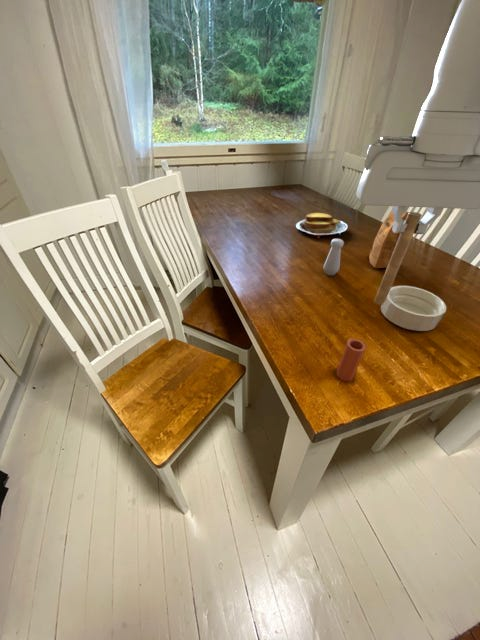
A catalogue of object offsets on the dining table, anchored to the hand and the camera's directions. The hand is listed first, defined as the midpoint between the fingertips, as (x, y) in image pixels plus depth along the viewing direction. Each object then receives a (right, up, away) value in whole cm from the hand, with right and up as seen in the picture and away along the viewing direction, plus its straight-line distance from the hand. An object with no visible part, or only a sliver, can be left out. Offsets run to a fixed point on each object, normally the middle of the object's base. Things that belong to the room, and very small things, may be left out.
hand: (407, 232), depth 47 cm
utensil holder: (-4, -28, +17) cm, 34 cm away
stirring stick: (0, -11, +9) cm, 15 cm away
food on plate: (+12, +30, +91) cm, 96 cm away
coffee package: (+28, +8, +63) cm, 69 cm away
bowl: (+22, -14, +36) cm, 44 cm away
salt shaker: (+5, +3, +56) cm, 57 cm away
